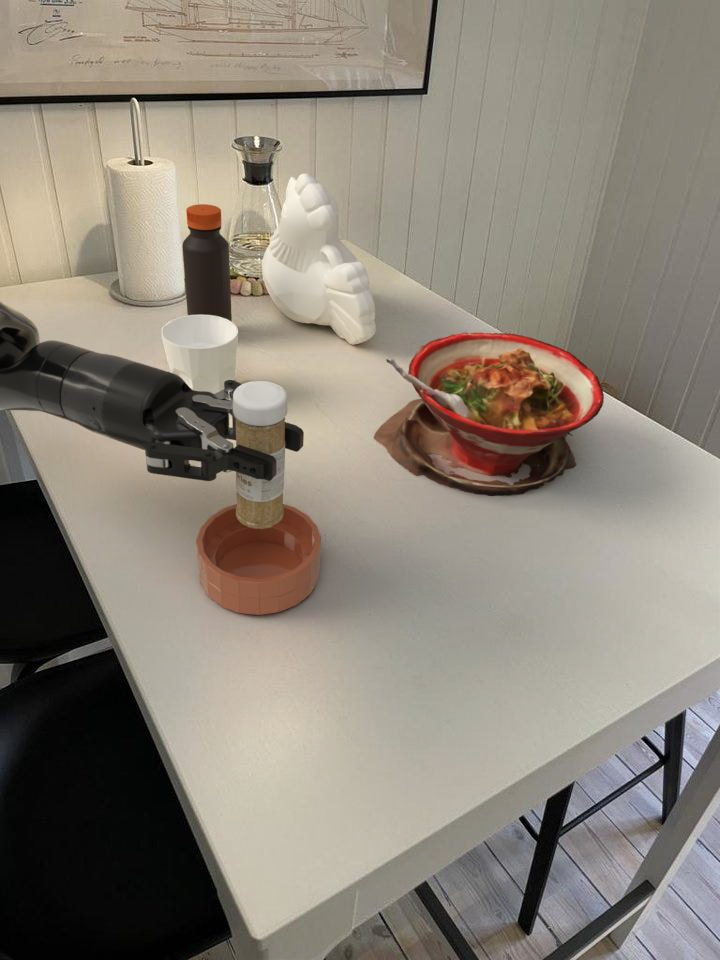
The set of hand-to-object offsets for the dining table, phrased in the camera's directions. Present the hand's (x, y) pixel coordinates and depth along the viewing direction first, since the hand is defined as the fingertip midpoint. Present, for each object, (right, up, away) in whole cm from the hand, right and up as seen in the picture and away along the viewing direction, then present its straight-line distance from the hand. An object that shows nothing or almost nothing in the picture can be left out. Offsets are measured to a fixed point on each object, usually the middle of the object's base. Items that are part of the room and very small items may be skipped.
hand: (287, 454), depth 65 cm
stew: (+22, +1, +33) cm, 40 cm away
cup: (-16, +10, +41) cm, 45 cm away
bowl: (-4, -12, +13) cm, 18 cm away
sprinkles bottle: (-3, -6, +6) cm, 9 cm away
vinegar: (-18, +21, +55) cm, 61 cm away
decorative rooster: (0, +23, +60) cm, 64 cm away
